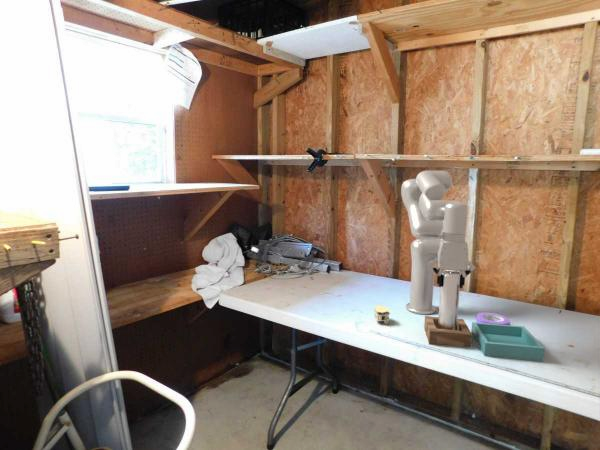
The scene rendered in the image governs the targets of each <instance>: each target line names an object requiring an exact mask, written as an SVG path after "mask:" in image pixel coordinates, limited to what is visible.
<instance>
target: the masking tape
mask: <svg viewBox="0 0 600 450" xmlns="http://www.w3.org/2000/svg"><path fill="white" fill-rule="evenodd" d="M476 322H477V323H489V324H501V325H511V324H510V323H511V322H510V319H509V318H508V317H506V316H505V315H502V314H499V313H494V312H480V313H477V315H476Z"/></svg>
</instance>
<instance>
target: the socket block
mask: <svg viewBox="0 0 600 450" xmlns="http://www.w3.org/2000/svg"><path fill="white" fill-rule="evenodd" d="M423 325H424V327H423V329H424V332H426V333H425V335H426V339H427V342H428V345H434V346H443V345H444V346H446V347H454V348H455V347H456V348H466V349H467V348H468V349H472V340H473V336H472V333H471V330H470V329H469V327H468V325H467V323H466V322H465V320H464V319H463V318H457V330H447V329H438V316H429V315H428V316H427V315H425V316H424V324H423Z"/></svg>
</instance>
